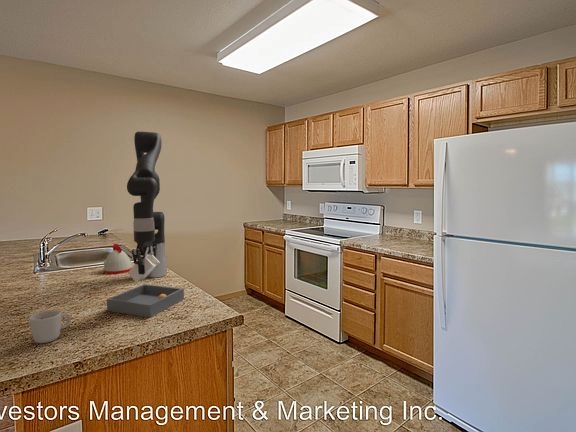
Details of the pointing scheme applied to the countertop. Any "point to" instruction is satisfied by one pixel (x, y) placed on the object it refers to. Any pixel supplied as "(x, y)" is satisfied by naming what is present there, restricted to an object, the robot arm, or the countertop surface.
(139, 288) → the tray
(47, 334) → the cup
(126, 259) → the cream and red dome
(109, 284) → the countertop surface
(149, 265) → the open white crate
